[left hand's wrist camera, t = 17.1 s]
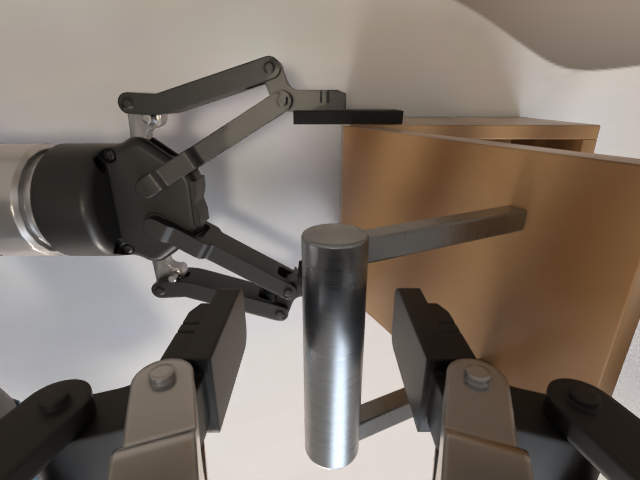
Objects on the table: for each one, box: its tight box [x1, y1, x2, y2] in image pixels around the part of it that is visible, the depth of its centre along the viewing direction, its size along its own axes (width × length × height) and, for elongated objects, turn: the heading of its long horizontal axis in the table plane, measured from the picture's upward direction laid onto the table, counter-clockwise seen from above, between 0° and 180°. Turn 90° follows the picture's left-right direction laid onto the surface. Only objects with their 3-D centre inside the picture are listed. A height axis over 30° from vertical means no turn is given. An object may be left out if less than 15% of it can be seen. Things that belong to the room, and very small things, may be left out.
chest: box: [340, 117, 600, 224], centre depth 28 cm, size 14×10×9 cm
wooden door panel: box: [301, 125, 640, 469], centre depth 15 cm, size 15×10×8 cm
